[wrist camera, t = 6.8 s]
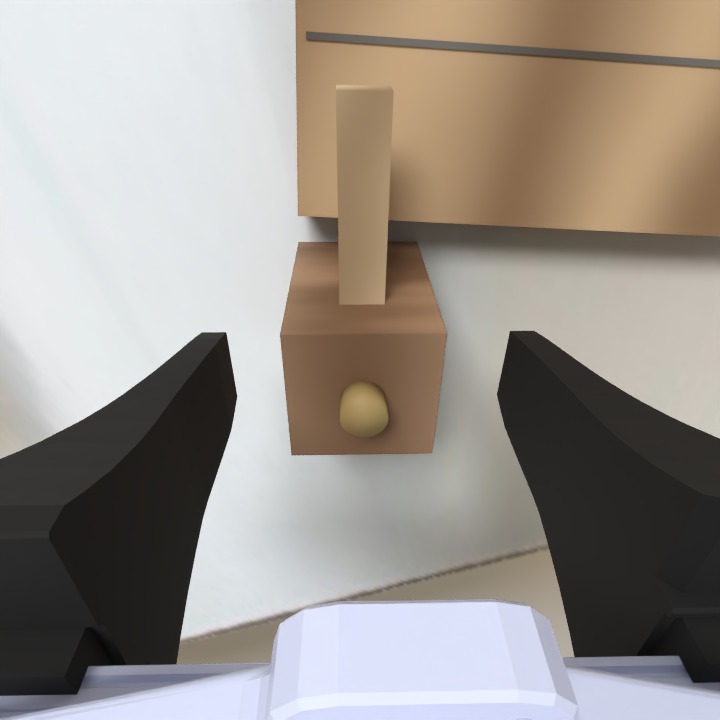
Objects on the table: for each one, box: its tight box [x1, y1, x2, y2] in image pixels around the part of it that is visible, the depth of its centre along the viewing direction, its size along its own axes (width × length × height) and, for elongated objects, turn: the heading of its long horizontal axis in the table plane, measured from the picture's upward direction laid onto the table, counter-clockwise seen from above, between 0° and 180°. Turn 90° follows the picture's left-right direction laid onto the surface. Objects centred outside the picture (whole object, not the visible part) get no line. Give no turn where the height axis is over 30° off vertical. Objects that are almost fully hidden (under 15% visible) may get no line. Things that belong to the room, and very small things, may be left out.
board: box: [296, 0, 720, 237], centre depth 13 cm, size 14×8×2 cm, turn 87°
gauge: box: [280, 85, 447, 455], centre depth 14 cm, size 4×9×7 cm, turn 0°
